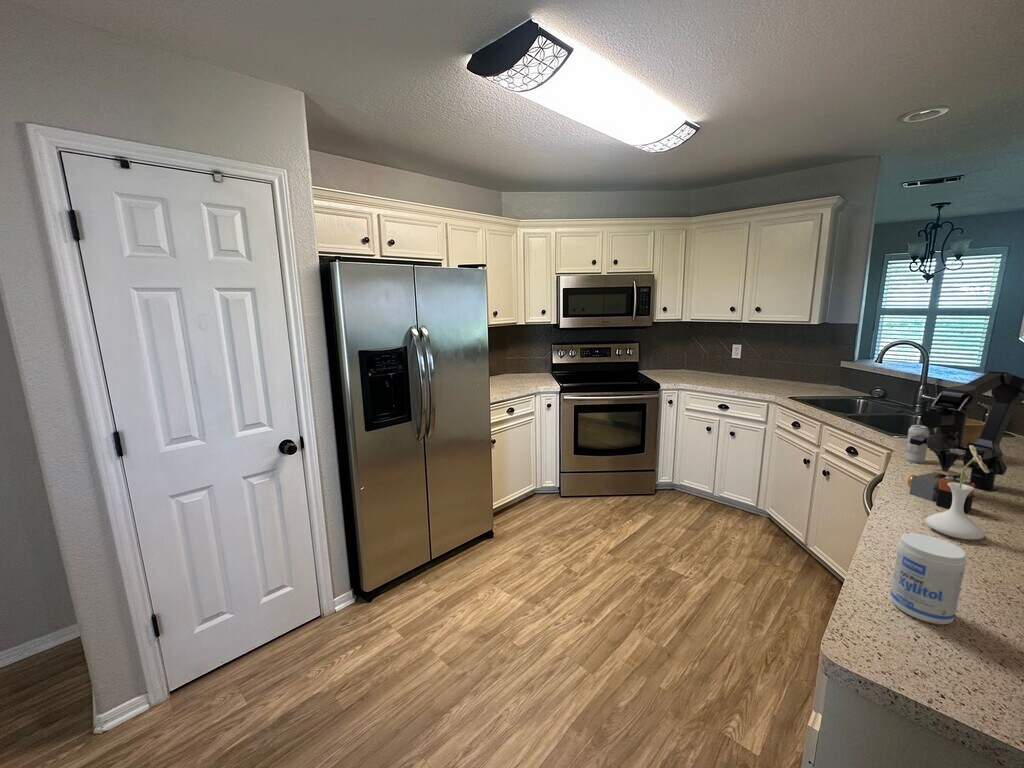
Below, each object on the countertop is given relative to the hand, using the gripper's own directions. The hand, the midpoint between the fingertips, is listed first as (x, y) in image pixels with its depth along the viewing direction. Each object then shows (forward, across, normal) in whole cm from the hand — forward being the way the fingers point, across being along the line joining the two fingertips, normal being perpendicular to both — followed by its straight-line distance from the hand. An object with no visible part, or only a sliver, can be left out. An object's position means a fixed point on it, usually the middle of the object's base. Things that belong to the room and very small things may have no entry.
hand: (944, 470), depth 139 cm
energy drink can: (+8, -22, +29) cm, 37 cm away
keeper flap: (+1, 0, +1) cm, 2 cm away
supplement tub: (+8, +33, -77) cm, 84 cm away
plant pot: (+8, -20, +51) cm, 55 cm away
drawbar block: (+8, 0, -3) cm, 8 cm away
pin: (+6, +3, -8) cm, 11 cm away
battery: (+8, +8, -12) cm, 16 cm away
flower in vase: (+8, +17, -30) cm, 36 cm away
